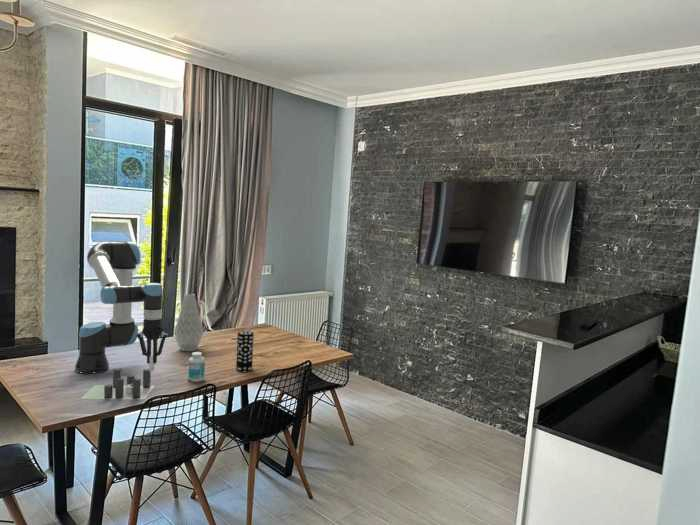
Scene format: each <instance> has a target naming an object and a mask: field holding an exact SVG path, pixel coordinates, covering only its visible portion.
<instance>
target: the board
mask: <svg viewBox="0 0 700 525" xmlns="http://www.w3.org/2000/svg"><path fill="white" fill-rule="evenodd" d="M104 386H105V384H94V385H93V386H92V387H91V388H90V389H89V390H88V391H87V392H86V393H84V395H83V396H82V397H81V398H80V400H106V399H105V398H104ZM126 387H127V384H125V385H124V393H123V398H121V399H120V400H134V399H133V398H132V395H131V394H127V393H126ZM154 387H155V385H150V388H143V385H141V392H140V398H138V399H137V400H146V398H147V397H148V396H149V394H150V393H151V391H152V390H153V388H154ZM108 400H117V399H116V398H115V388H113V394H112V398H109V399H108Z"/></svg>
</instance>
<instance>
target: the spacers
mask: <svg viewBox="0 0 700 525" xmlns="http://www.w3.org/2000/svg"><path fill="white" fill-rule="evenodd" d="M151 375H152V372H150V371H149V368H146V369H145V368H144V369H143V371H142V379H141V378H136V377H135V376H136V375H132V374H129V375H127V376H126V385H128V384H133V391H132V398H133V399H132V400H139V399H138V398H140V392H141V386H143V388H150V386H151V378H152V376H151ZM124 380H125V379H124V378H122V369H121V368H114V369H112V384H106V385H105V384H104V385H105V386H104V398H105V399H104V400H110V399H109V398H112V394H113V388H115V398H116V399H115V400H122V399H121V398H123V393H124ZM141 383H142V385H141Z"/></svg>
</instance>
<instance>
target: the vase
mask: <svg viewBox="0 0 700 525" xmlns="http://www.w3.org/2000/svg"><path fill="white" fill-rule="evenodd" d="M176 321H177V322H176V324H175V327H174V330H173V335H174V337H175V341H176V343H177V345H178V347H179V349H180V351H182V352H193V351H196V350H197V348H198V346H199V344H200V342H201V341H202V337H203V335H204V328H203V326H202V320H201V317H200V312H199V308H198V303H197V299H196V295H195V294H194V293H187V294H184V297H183V300H182V304H181V308H180V311H179V315H178V318H177V320H176Z"/></svg>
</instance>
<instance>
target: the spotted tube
mask: <svg viewBox="0 0 700 525" xmlns="http://www.w3.org/2000/svg"><path fill="white" fill-rule="evenodd" d="M236 342H237V343H236V361H235V362H236V365H235V370H236V371H237V372H239V373H249V371H250V372H252V371H253V358H254V357H253V356H254V331H251V330H250V331H249V330H242V331H238V332H237V339H236Z"/></svg>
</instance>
